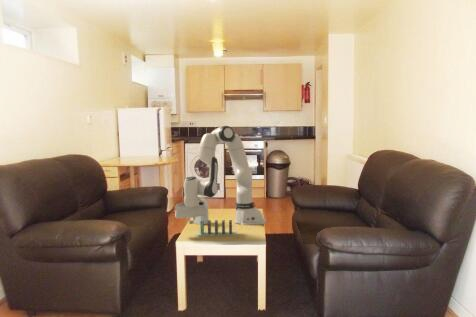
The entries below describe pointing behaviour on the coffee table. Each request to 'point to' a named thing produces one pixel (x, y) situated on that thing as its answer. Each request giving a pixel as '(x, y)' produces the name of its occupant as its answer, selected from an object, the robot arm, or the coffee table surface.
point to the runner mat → (218, 233)
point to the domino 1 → (202, 227)
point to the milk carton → (205, 218)
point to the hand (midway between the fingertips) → (191, 223)
